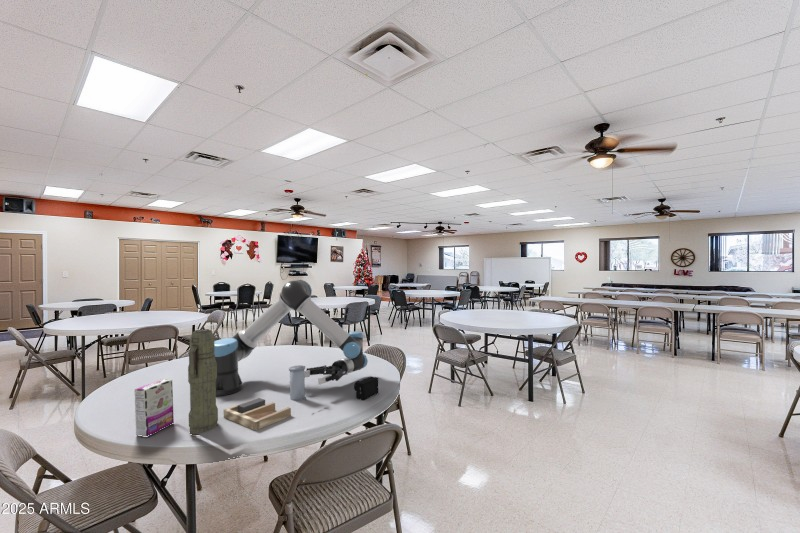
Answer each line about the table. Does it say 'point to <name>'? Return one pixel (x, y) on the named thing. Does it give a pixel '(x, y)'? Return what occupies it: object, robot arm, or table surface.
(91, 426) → the table surface
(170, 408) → the candy bar box
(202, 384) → the thermos
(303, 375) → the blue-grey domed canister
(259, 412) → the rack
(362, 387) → the digital camera
